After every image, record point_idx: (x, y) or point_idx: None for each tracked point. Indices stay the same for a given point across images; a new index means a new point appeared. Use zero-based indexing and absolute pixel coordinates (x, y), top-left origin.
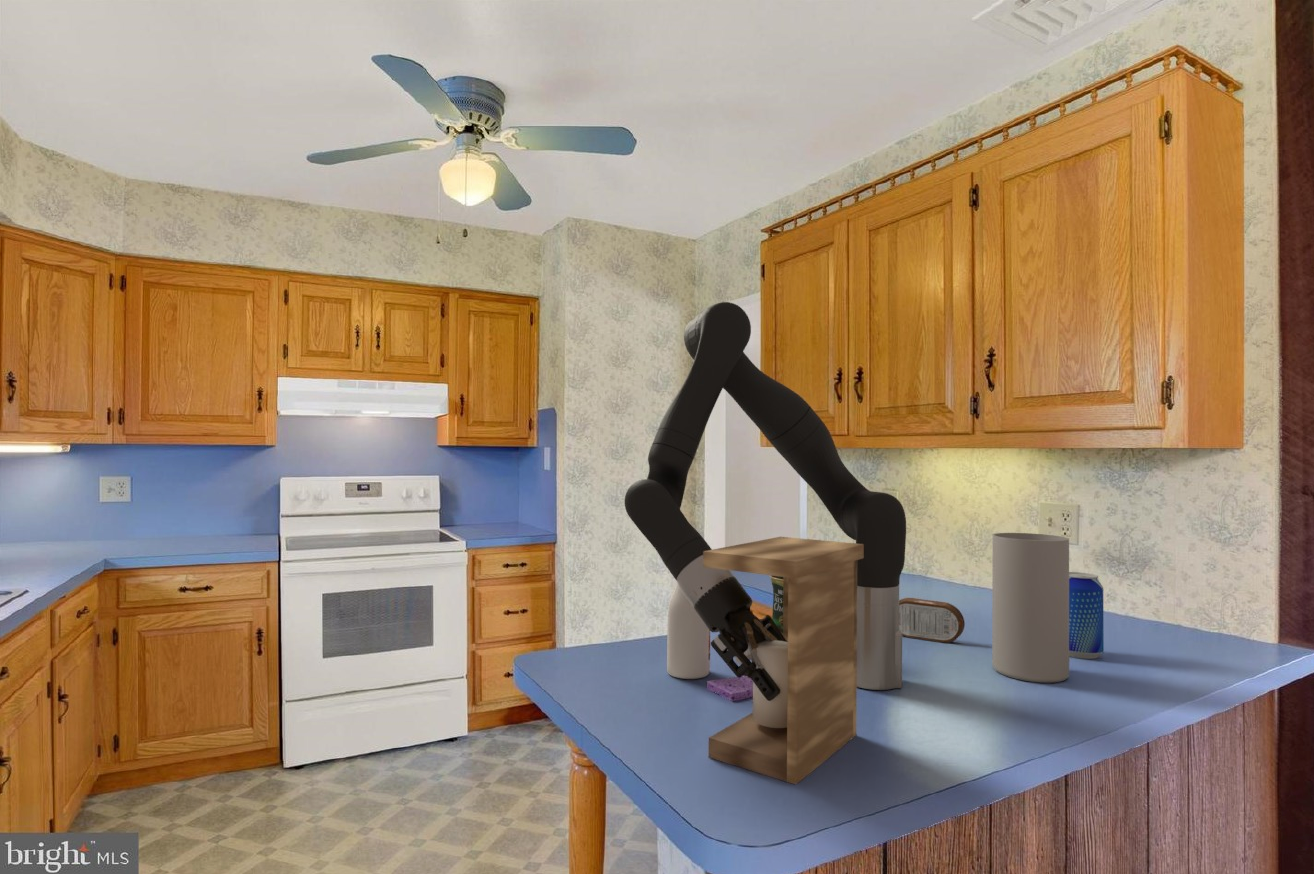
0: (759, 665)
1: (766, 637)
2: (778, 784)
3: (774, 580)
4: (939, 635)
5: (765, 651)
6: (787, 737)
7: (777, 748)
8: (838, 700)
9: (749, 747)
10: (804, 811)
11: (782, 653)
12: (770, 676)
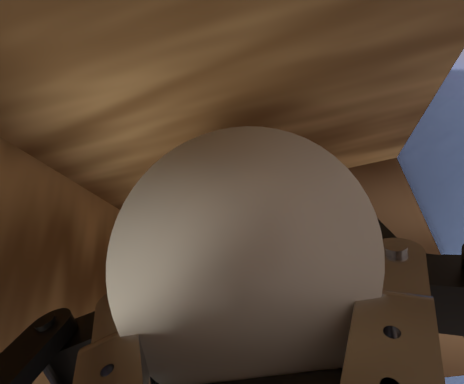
0: (399, 241)
1: (145, 382)
2: (406, 178)
3: None
4: None
5: (373, 210)
6: (412, 130)
7: None
8: None
9: (423, 247)
10: (435, 105)
11: (304, 142)
12: None
